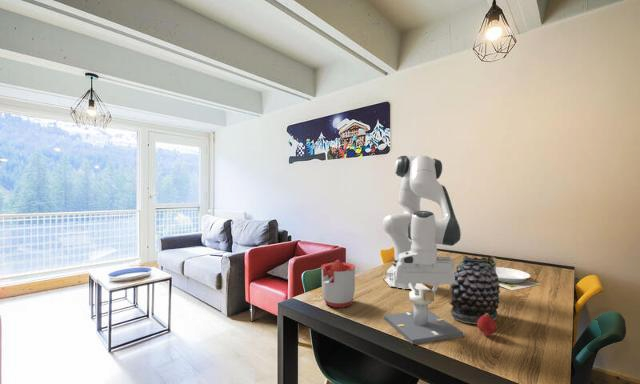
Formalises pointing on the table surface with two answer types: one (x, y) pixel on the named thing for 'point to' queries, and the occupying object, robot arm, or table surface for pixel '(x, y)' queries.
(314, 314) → the table surface
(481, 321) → the onion
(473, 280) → the pineapple fairy house
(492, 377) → the table surface
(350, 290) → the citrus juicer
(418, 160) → the robot arm
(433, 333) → the lock base
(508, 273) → the white plate
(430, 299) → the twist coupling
